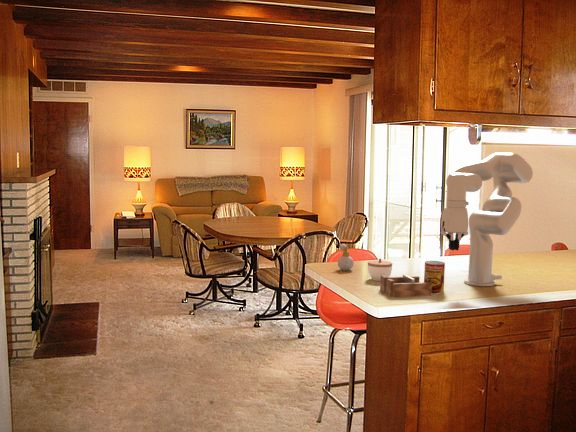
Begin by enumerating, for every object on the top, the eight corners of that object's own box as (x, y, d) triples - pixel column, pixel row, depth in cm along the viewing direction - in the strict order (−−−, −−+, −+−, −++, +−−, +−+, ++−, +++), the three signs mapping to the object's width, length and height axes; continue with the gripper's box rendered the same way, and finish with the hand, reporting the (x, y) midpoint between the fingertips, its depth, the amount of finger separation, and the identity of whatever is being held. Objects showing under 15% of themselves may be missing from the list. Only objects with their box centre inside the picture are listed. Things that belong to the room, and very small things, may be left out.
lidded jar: (362, 278, 274) (363, 257, 273) (383, 276, 278) (384, 256, 277) (375, 283, 264) (376, 261, 263) (396, 281, 268) (397, 260, 267)
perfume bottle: (344, 272, 287) (345, 246, 285) (331, 268, 294) (331, 244, 293) (356, 270, 291) (357, 245, 290) (343, 267, 299) (343, 242, 298)
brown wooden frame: (417, 288, 255) (418, 273, 255) (431, 295, 242) (432, 280, 242) (379, 289, 252) (379, 274, 251) (391, 296, 239) (391, 281, 238)
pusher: (404, 288, 252) (405, 274, 251) (414, 294, 243) (414, 279, 242) (382, 289, 250) (382, 275, 249) (390, 294, 241) (391, 279, 240)
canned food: (422, 292, 247) (423, 263, 246) (425, 288, 255) (426, 260, 253) (442, 294, 245) (443, 264, 243) (444, 290, 252) (445, 261, 251)
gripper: (469, 203, 253) (466, 248, 255) (434, 203, 250) (432, 248, 252) (478, 205, 246) (475, 251, 247) (442, 205, 242) (440, 251, 244)
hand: (453, 249), depth 250 cm, fingers closed
